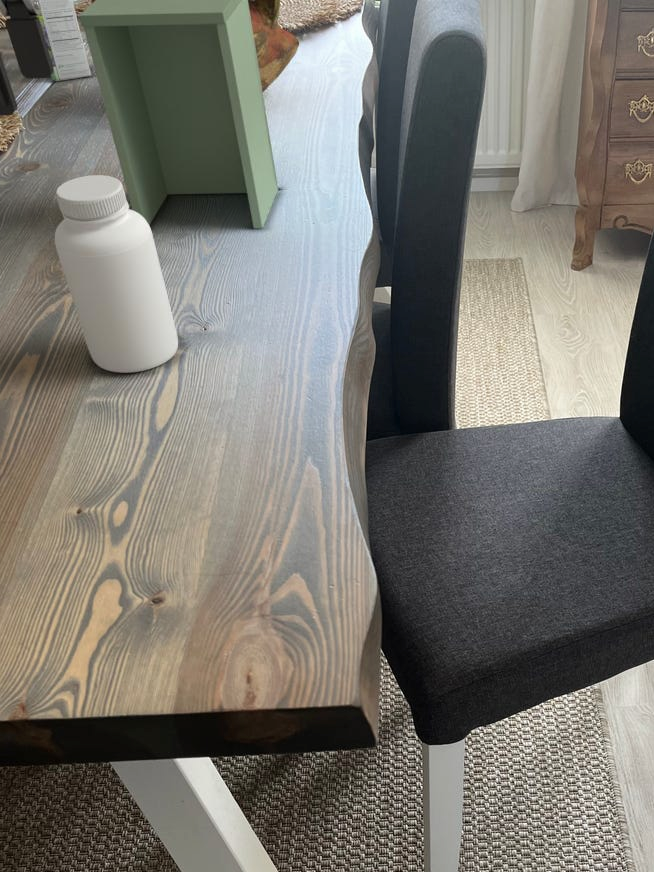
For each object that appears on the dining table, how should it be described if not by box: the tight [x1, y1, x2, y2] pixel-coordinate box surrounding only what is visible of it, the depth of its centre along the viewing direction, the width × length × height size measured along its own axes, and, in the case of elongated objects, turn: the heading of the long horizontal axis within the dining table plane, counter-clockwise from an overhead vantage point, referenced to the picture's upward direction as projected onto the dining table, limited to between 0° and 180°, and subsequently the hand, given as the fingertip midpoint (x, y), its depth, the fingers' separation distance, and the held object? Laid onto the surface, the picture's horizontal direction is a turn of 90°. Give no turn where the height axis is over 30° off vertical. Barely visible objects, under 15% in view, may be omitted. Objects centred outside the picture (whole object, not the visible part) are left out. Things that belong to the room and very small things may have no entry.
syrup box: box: [37, 0, 92, 82], centre depth 147 cm, size 6×6×14 cm
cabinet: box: [78, 0, 279, 229], centre depth 108 cm, size 12×14×21 cm
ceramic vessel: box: [91, 0, 300, 93], centre depth 132 cm, size 17×26×25 cm, turn 108°
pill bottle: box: [54, 174, 179, 374], centre depth 87 cm, size 8×8×15 cm
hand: (20, 94), depth 71 cm, fingers open, 7 cm apart
